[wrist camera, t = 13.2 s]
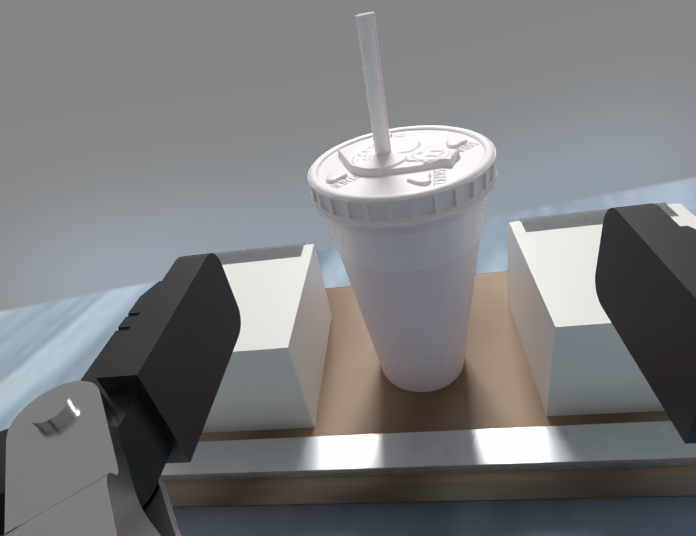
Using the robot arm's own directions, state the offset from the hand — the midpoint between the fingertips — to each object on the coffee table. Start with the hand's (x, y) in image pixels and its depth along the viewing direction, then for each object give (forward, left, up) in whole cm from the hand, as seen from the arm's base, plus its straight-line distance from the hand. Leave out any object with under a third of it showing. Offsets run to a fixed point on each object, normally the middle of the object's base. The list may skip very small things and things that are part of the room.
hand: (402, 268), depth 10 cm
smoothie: (0, +7, -10) cm, 12 cm away
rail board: (0, +7, -11) cm, 13 cm away
